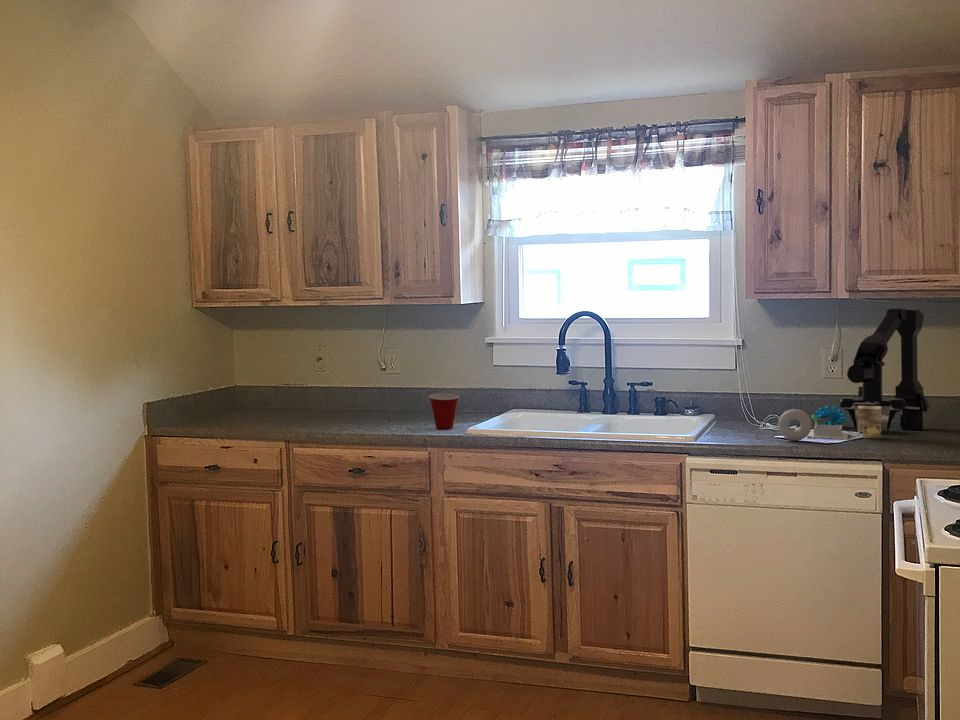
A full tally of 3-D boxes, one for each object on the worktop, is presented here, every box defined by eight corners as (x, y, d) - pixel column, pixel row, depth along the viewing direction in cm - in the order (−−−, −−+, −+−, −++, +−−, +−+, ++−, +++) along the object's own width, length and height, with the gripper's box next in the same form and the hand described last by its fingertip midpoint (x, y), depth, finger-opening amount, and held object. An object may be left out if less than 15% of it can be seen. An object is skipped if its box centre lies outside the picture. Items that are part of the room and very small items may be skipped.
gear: (849, 421, 341) (842, 402, 335) (848, 435, 337) (841, 416, 331) (815, 424, 346) (808, 406, 340) (815, 437, 343) (807, 419, 337)
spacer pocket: (848, 434, 322) (848, 424, 321) (847, 439, 311) (847, 429, 310) (809, 432, 326) (809, 423, 326) (806, 438, 315) (806, 428, 315)
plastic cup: (436, 431, 345) (435, 397, 344) (424, 428, 355) (424, 394, 354) (464, 429, 350) (464, 395, 349) (453, 425, 360) (452, 392, 359)
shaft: (892, 425, 326) (892, 410, 326) (892, 427, 322) (892, 411, 321) (852, 424, 331) (852, 409, 331) (852, 426, 326) (852, 410, 326)
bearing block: (881, 430, 329) (881, 406, 328) (880, 433, 322) (881, 409, 321) (858, 429, 332) (858, 405, 331) (857, 432, 324) (857, 408, 324)
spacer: (880, 437, 315) (880, 424, 314) (880, 439, 310) (880, 426, 310) (863, 436, 317) (863, 424, 316) (863, 438, 312) (863, 426, 312)
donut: (778, 441, 309) (778, 409, 309) (777, 439, 313) (777, 408, 312) (812, 442, 307) (812, 409, 306) (811, 440, 310) (811, 408, 310)
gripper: (904, 379, 316) (904, 428, 317) (841, 378, 323) (841, 426, 324) (904, 382, 306) (904, 433, 307) (840, 381, 313) (839, 430, 314)
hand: (871, 430), depth 313 cm, fingers open, 9 cm apart
